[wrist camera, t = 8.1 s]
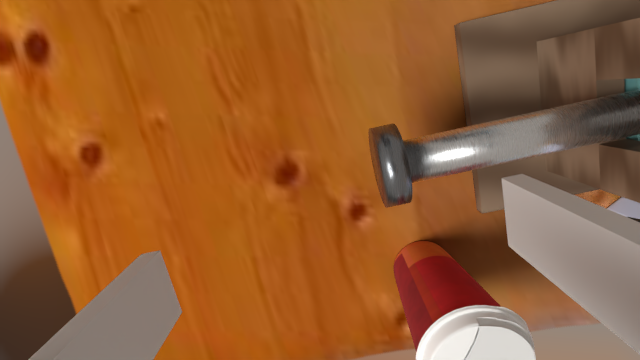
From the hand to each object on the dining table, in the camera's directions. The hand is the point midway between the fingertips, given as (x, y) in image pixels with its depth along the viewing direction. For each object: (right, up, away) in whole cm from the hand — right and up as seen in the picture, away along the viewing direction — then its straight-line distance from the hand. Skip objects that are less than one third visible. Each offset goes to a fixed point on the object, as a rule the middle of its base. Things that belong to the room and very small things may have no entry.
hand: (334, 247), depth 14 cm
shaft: (+12, +6, +14) cm, 19 cm away
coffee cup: (+10, -7, +25) cm, 28 cm away
